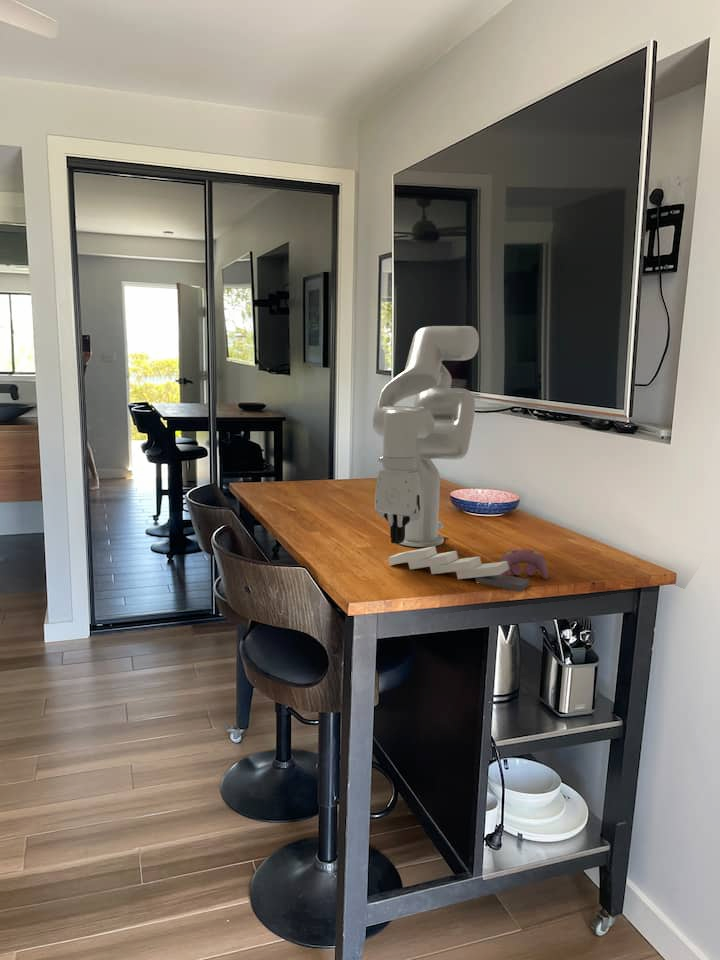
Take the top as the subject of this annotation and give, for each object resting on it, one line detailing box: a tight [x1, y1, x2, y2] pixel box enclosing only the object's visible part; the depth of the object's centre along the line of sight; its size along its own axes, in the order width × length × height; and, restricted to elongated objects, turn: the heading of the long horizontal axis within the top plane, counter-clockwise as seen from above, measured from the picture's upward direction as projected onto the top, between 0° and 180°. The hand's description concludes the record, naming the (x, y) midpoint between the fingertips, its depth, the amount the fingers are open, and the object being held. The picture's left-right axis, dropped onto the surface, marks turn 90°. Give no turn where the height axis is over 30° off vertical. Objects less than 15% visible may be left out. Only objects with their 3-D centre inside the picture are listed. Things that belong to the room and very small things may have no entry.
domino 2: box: [407, 550, 459, 570], centre depth 162 cm, size 2×5×10 cm
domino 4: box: [455, 561, 509, 580], centre depth 155 cm, size 2×5×10 cm
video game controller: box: [500, 549, 549, 580], centre depth 159 cm, size 10×5×7 cm, turn 93°
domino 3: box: [429, 555, 482, 575], centre depth 158 cm, size 2×5×10 cm
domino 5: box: [475, 574, 530, 592], centre depth 153 cm, size 2×5×10 cm
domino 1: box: [387, 546, 438, 566], centre depth 164 cm, size 2×5×10 cm
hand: (397, 542), depth 166 cm, fingers closed
